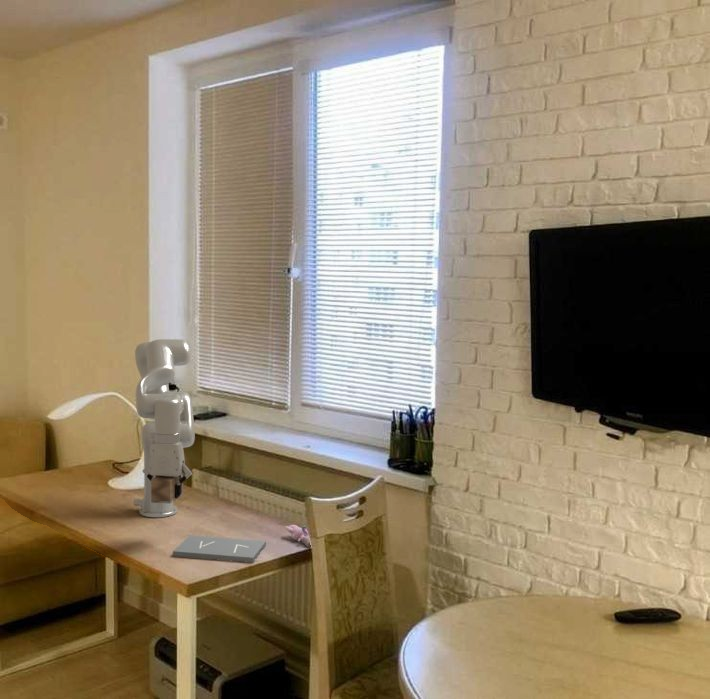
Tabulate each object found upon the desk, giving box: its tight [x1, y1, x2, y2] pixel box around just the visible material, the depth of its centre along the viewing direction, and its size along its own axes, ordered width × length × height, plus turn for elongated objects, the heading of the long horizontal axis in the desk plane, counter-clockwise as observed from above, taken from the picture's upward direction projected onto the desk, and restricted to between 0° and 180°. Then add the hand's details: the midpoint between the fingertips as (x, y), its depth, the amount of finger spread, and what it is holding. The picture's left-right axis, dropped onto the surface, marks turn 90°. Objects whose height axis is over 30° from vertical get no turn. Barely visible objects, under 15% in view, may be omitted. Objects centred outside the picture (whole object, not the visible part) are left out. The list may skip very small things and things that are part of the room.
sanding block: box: [151, 473, 184, 504], centre depth 237 cm, size 6×10×7 cm, turn 172°
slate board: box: [172, 535, 267, 563], centre depth 230 cm, size 24×14×2 cm, turn 82°
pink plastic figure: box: [284, 524, 311, 548], centre depth 240 cm, size 6×6×15 cm
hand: (167, 495), depth 238 cm, fingers closed on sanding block, 6 cm apart
